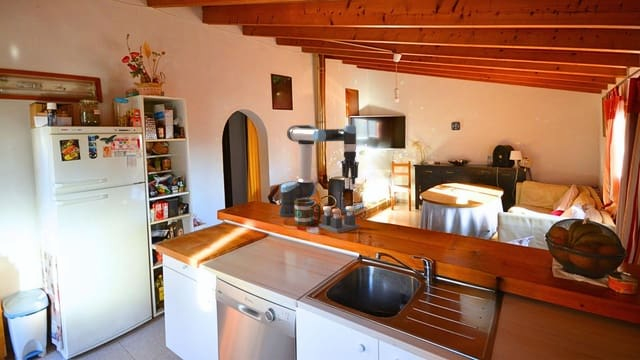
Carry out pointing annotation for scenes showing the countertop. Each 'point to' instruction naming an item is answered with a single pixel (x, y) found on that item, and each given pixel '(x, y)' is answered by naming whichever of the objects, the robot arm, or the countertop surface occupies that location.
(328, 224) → the knob mount
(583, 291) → the countertop surface
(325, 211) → the cream knob near
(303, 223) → the mug
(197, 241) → the countertop surface
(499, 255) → the countertop surface
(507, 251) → the countertop surface
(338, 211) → the terracotta knob
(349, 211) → the cream knob left
